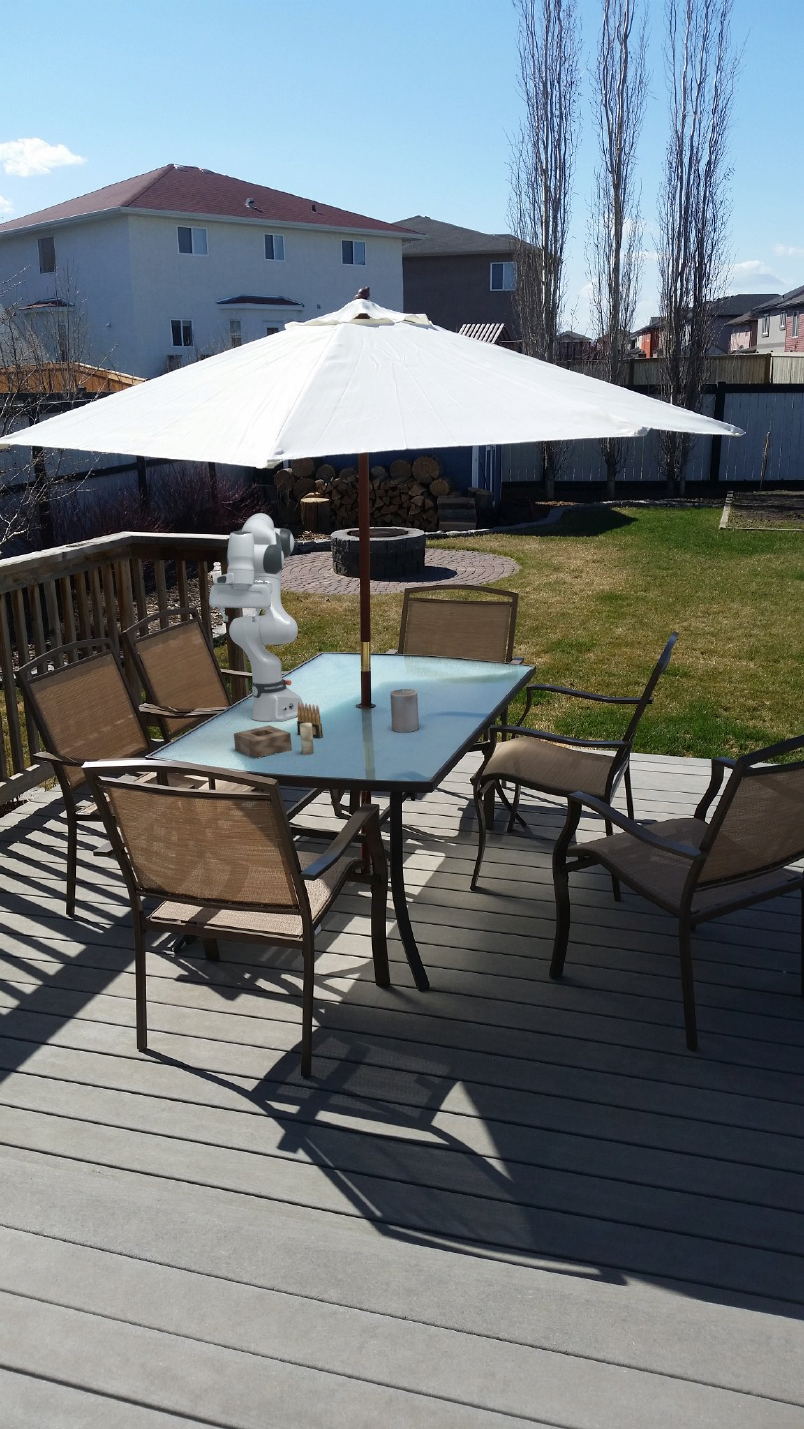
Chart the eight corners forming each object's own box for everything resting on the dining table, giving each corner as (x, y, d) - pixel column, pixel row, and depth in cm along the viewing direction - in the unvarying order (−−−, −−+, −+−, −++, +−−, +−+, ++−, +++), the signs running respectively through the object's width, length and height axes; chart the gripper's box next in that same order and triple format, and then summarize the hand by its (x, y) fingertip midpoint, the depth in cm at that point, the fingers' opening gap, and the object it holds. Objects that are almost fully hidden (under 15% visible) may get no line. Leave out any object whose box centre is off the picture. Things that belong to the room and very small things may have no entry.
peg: (309, 750, 362) (307, 722, 359) (316, 752, 359) (314, 724, 356) (299, 752, 359) (297, 724, 357) (306, 755, 356) (304, 726, 354)
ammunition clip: (297, 734, 382) (295, 702, 378) (300, 733, 383) (298, 701, 380) (319, 738, 375) (317, 705, 372) (323, 737, 376) (320, 704, 373)
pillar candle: (395, 725, 388) (392, 685, 384) (421, 725, 386) (419, 685, 382) (389, 733, 379) (387, 692, 375) (416, 733, 377) (414, 692, 373)
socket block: (270, 741, 374) (269, 725, 372) (291, 749, 363) (290, 732, 362) (235, 750, 366) (233, 733, 364) (255, 758, 355) (254, 741, 353)
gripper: (272, 581, 356) (272, 623, 356) (211, 579, 355) (210, 621, 355) (271, 579, 350) (271, 622, 350) (208, 577, 348) (208, 620, 349)
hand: (239, 621), depth 353 cm, fingers open, 8 cm apart
